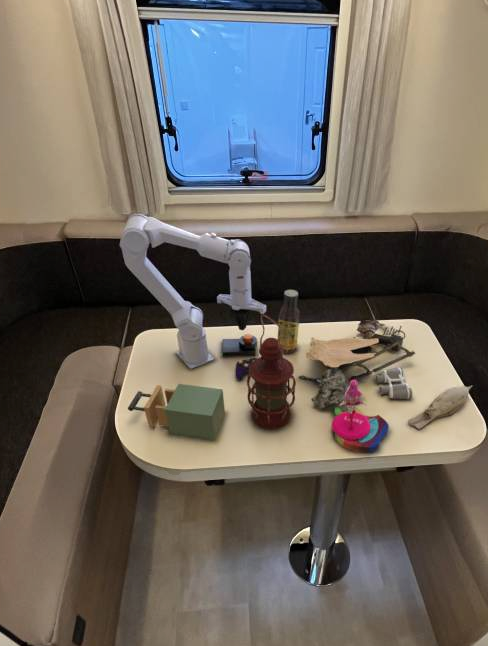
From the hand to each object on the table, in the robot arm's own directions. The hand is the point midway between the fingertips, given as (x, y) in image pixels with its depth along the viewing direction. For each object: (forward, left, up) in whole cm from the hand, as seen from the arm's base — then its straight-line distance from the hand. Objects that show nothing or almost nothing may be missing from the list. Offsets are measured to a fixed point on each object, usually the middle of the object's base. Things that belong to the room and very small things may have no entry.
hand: (242, 328), depth 129 cm
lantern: (+26, -8, -10) cm, 29 cm away
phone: (+19, +19, -9) cm, 28 cm away
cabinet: (+18, -25, -10) cm, 32 cm away
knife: (+24, +14, -10) cm, 30 cm away
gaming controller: (+8, -3, -10) cm, 13 cm away
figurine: (+42, +5, -8) cm, 44 cm away
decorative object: (+50, +10, -9) cm, 52 cm away
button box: (-4, 0, -10) cm, 11 cm away
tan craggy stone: (+22, +22, -5) cm, 31 cm away
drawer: (+12, -31, -9) cm, 34 cm away
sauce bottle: (+4, +13, -10) cm, 17 cm away
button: (-2, +3, -7) cm, 8 cm away
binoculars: (+36, +27, -10) cm, 46 cm away
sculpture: (+52, +32, -6) cm, 61 cm away
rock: (+27, +6, -10) cm, 29 cm away
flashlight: (+15, +41, -10) cm, 45 cm away
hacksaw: (+31, +30, -9) cm, 44 cm away
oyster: (+15, +41, -4) cm, 44 cm away
